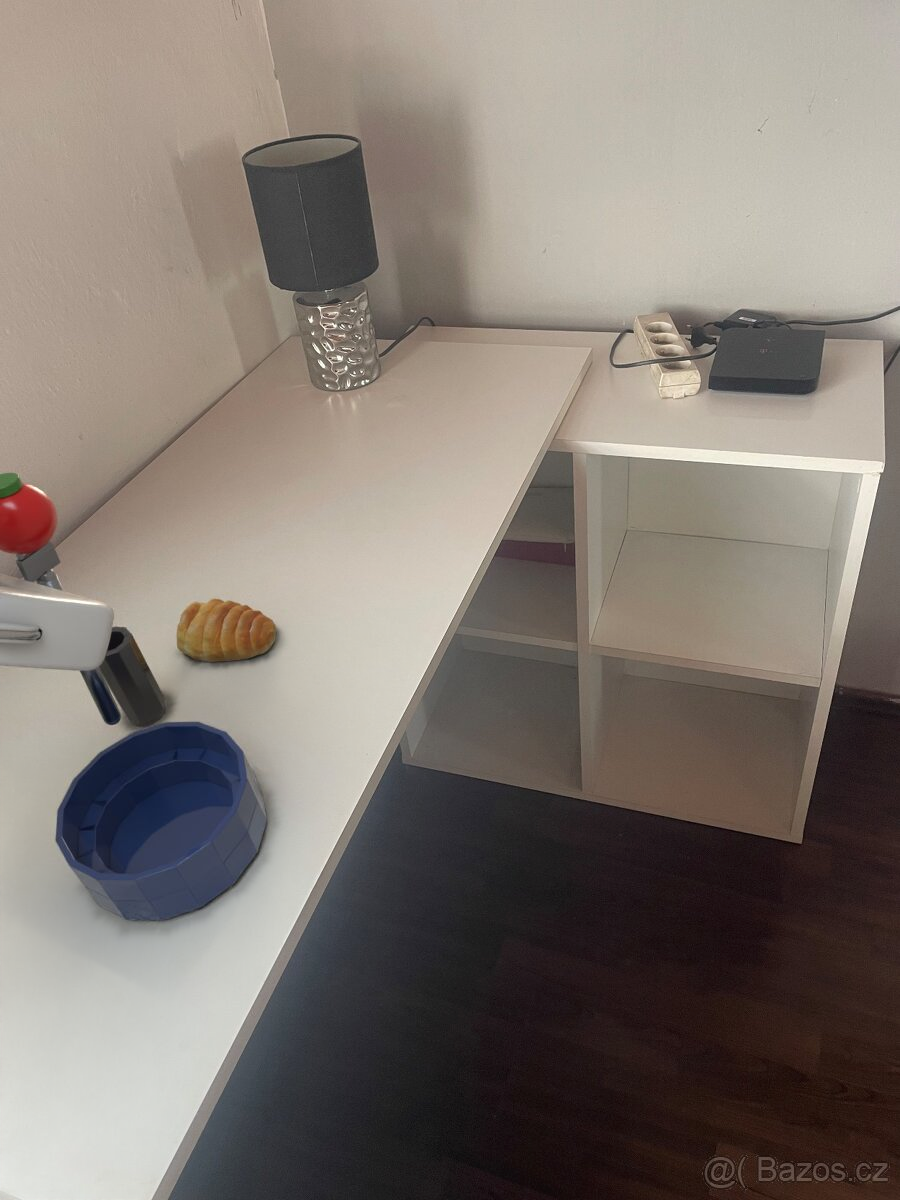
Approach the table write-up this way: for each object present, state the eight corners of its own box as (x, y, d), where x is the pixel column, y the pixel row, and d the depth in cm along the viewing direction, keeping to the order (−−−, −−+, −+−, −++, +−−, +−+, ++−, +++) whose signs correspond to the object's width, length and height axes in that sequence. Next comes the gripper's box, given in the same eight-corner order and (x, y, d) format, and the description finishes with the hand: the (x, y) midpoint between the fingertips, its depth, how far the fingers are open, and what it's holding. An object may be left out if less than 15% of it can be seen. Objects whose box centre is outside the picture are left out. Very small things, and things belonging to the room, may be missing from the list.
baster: (115, 751, 58) (-5, 505, 47) (71, 735, 60) (-55, 493, 48) (157, 710, 61) (54, 468, 50) (114, 695, 63) (5, 458, 51)
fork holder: (137, 733, 77) (97, 663, 71) (121, 711, 79) (81, 641, 73) (174, 711, 78) (137, 640, 73) (157, 690, 81) (120, 620, 75)
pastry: (289, 621, 86) (279, 592, 83) (264, 670, 81) (252, 641, 78) (205, 616, 88) (193, 587, 86) (175, 663, 83) (161, 635, 81)
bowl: (132, 963, 60) (98, 920, 56) (63, 839, 69) (29, 794, 65) (300, 841, 66) (280, 794, 62) (216, 741, 75) (194, 694, 71)
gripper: (-19, 561, 38) (196, 592, 50) (-273, 491, 46) (-35, 532, 59) (-50, 703, 38) (172, 698, 50) (-298, 606, 46) (-55, 623, 59)
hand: (59, 608), depth 54 cm, fingers closed on baster
